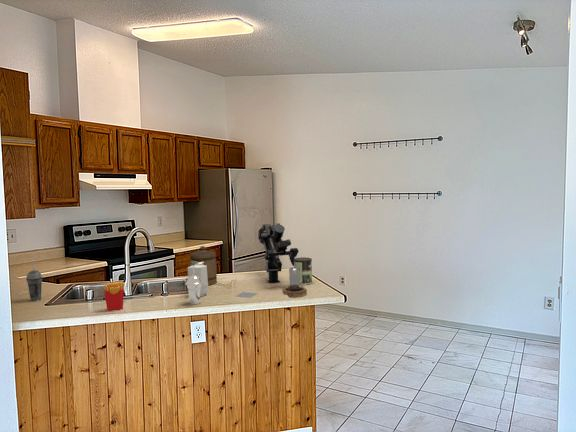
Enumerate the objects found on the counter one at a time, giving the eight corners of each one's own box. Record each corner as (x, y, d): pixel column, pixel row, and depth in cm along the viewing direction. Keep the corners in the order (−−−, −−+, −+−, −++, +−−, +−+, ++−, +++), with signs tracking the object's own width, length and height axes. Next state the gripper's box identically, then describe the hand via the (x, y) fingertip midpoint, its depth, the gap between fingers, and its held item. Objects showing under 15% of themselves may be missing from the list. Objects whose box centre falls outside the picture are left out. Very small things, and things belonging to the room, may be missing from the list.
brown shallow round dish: (279, 291, 234) (279, 287, 234) (303, 290, 237) (303, 285, 237) (285, 298, 221) (285, 293, 221) (309, 296, 224) (309, 291, 224)
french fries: (105, 311, 204) (103, 284, 202) (105, 309, 208) (104, 282, 206) (126, 309, 207) (124, 282, 205) (126, 306, 211) (124, 280, 209)
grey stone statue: (187, 301, 219) (185, 261, 218) (205, 300, 220) (204, 261, 218) (184, 305, 211) (183, 264, 209) (203, 305, 212) (202, 264, 210)
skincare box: (208, 294, 232) (207, 265, 230) (201, 297, 226) (200, 267, 224) (195, 292, 235) (194, 264, 234) (188, 295, 229) (187, 266, 228)
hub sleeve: (285, 293, 228) (284, 269, 227) (292, 290, 234) (292, 266, 233) (296, 295, 224) (296, 270, 223) (303, 292, 230) (303, 267, 229)
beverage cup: (27, 303, 220) (24, 263, 219) (28, 299, 227) (25, 261, 225) (43, 300, 224) (41, 262, 222) (44, 297, 230) (41, 260, 229)
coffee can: (313, 281, 258) (312, 257, 257) (310, 285, 248) (310, 260, 247) (296, 280, 260) (295, 257, 259) (292, 284, 250) (292, 260, 249)
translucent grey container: (186, 283, 256) (184, 246, 254) (206, 279, 267) (204, 243, 265) (202, 287, 246) (200, 249, 244) (222, 282, 257) (221, 245, 256)
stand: (242, 293, 231) (242, 292, 231) (258, 295, 228) (258, 293, 228) (234, 298, 223) (234, 296, 223) (250, 299, 219) (250, 297, 219)
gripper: (265, 235, 236) (273, 259, 227) (297, 233, 244) (305, 256, 234) (261, 248, 244) (268, 271, 235) (291, 245, 251) (299, 268, 242)
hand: (285, 266), depth 236 cm, fingers open, 9 cm apart
